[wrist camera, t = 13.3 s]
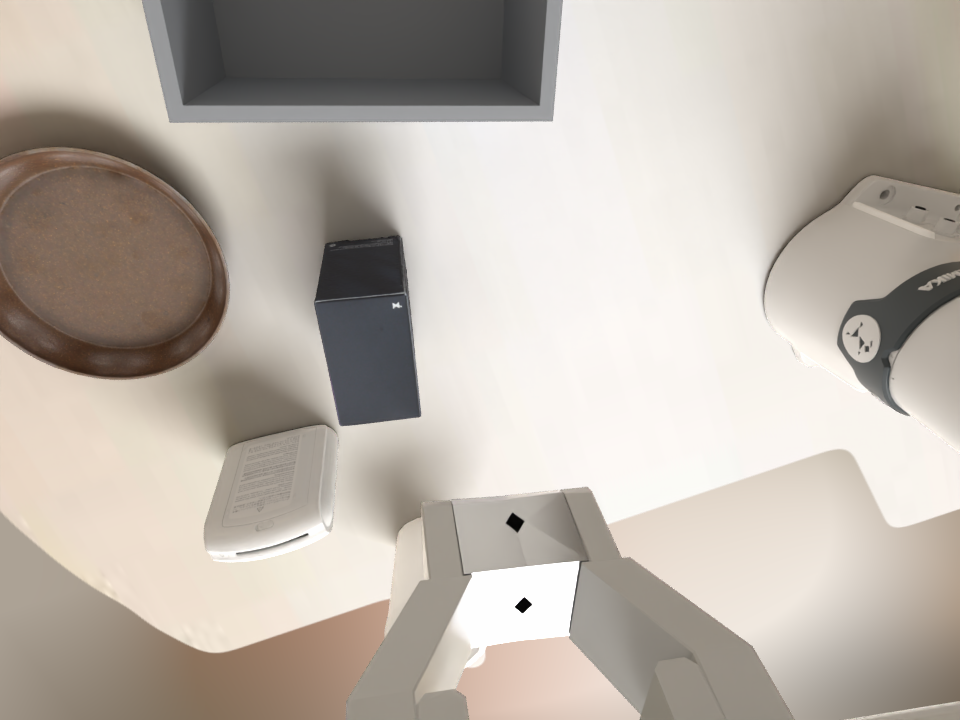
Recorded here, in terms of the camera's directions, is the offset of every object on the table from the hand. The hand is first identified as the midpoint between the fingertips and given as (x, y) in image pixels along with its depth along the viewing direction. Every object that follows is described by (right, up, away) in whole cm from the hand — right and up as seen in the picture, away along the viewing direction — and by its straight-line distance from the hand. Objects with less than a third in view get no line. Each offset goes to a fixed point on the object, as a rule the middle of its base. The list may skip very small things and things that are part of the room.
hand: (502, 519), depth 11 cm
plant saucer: (-28, +10, +35) cm, 46 cm away
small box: (-10, +8, +40) cm, 42 cm away
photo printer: (-19, -5, +46) cm, 50 cm away
